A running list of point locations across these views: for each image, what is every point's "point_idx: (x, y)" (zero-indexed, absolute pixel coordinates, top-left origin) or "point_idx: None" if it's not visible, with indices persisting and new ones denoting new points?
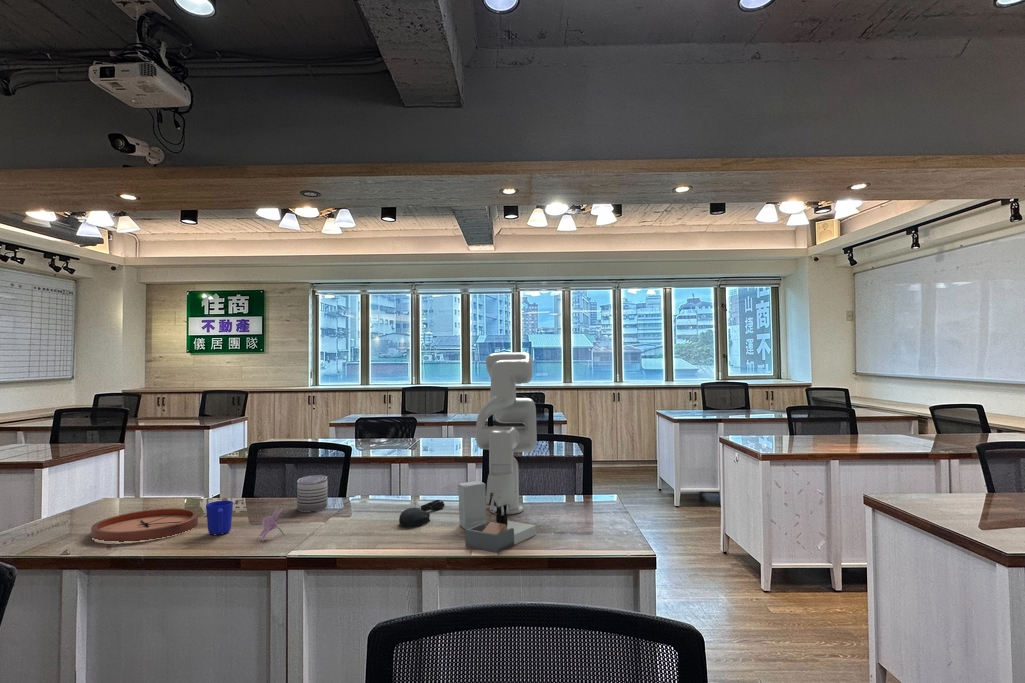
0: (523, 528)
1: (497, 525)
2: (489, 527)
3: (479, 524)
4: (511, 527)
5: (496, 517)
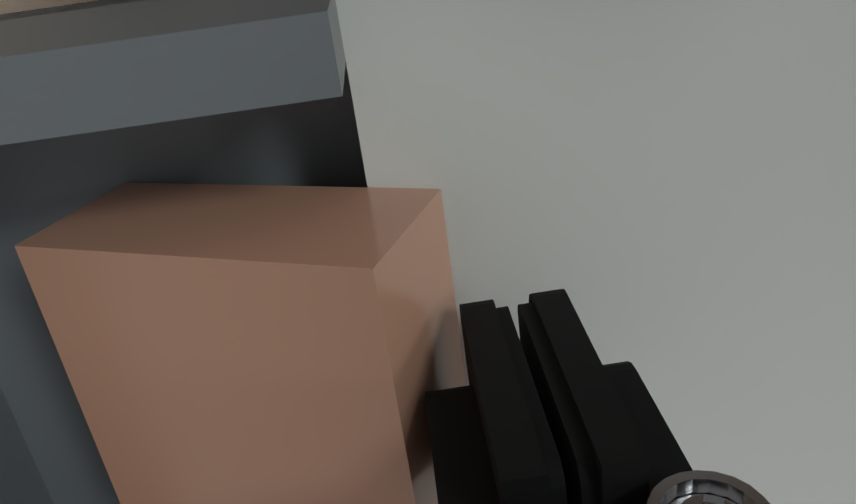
0: (791, 486)
1: (340, 468)
2: (222, 338)
3: (140, 57)
4: (748, 330)
5: (488, 418)
